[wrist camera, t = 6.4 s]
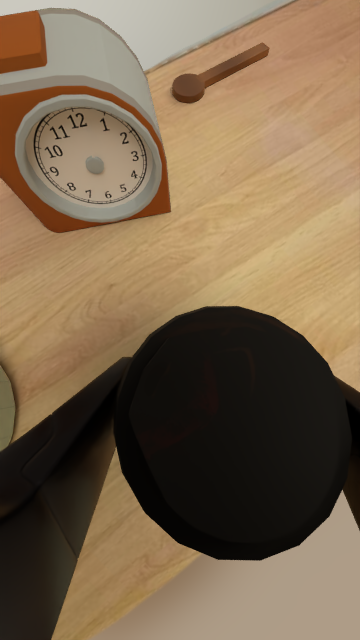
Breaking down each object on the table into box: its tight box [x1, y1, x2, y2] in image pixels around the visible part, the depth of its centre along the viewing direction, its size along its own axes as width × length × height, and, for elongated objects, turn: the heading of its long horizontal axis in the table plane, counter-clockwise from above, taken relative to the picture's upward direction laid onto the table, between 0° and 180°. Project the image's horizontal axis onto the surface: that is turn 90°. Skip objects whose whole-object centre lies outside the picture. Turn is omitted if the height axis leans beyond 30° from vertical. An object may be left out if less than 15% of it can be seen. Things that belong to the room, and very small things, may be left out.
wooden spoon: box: [172, 43, 269, 103], centre depth 32 cm, size 16×4×1 cm, turn 124°
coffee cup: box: [113, 306, 352, 560], centre depth 10 cm, size 7×7×10 cm
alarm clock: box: [0, 8, 171, 233], centre depth 21 cm, size 15×8×14 cm, turn 102°
